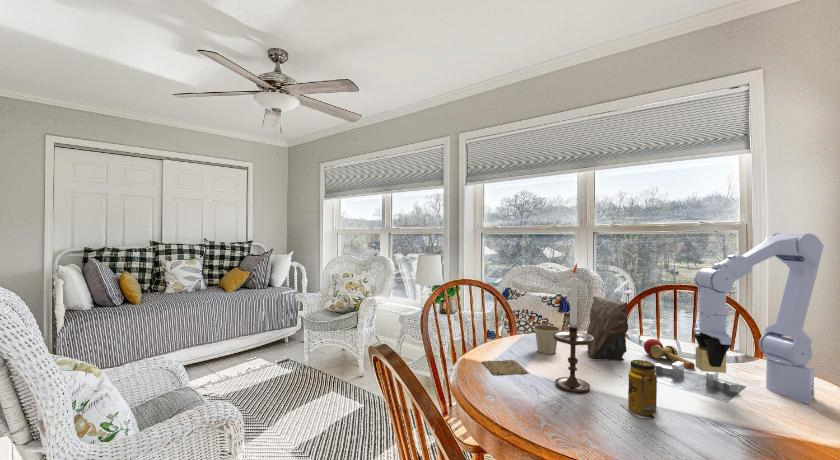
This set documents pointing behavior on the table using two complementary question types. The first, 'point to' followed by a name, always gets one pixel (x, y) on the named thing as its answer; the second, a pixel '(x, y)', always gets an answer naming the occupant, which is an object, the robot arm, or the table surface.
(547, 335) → the flower pot
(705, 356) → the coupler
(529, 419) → the table surface
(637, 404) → the condiment
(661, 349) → the kendama
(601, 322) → the brown rock block
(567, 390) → the candlestick
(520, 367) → the brown stone coaster
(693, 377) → the shaft base
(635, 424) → the table surface
